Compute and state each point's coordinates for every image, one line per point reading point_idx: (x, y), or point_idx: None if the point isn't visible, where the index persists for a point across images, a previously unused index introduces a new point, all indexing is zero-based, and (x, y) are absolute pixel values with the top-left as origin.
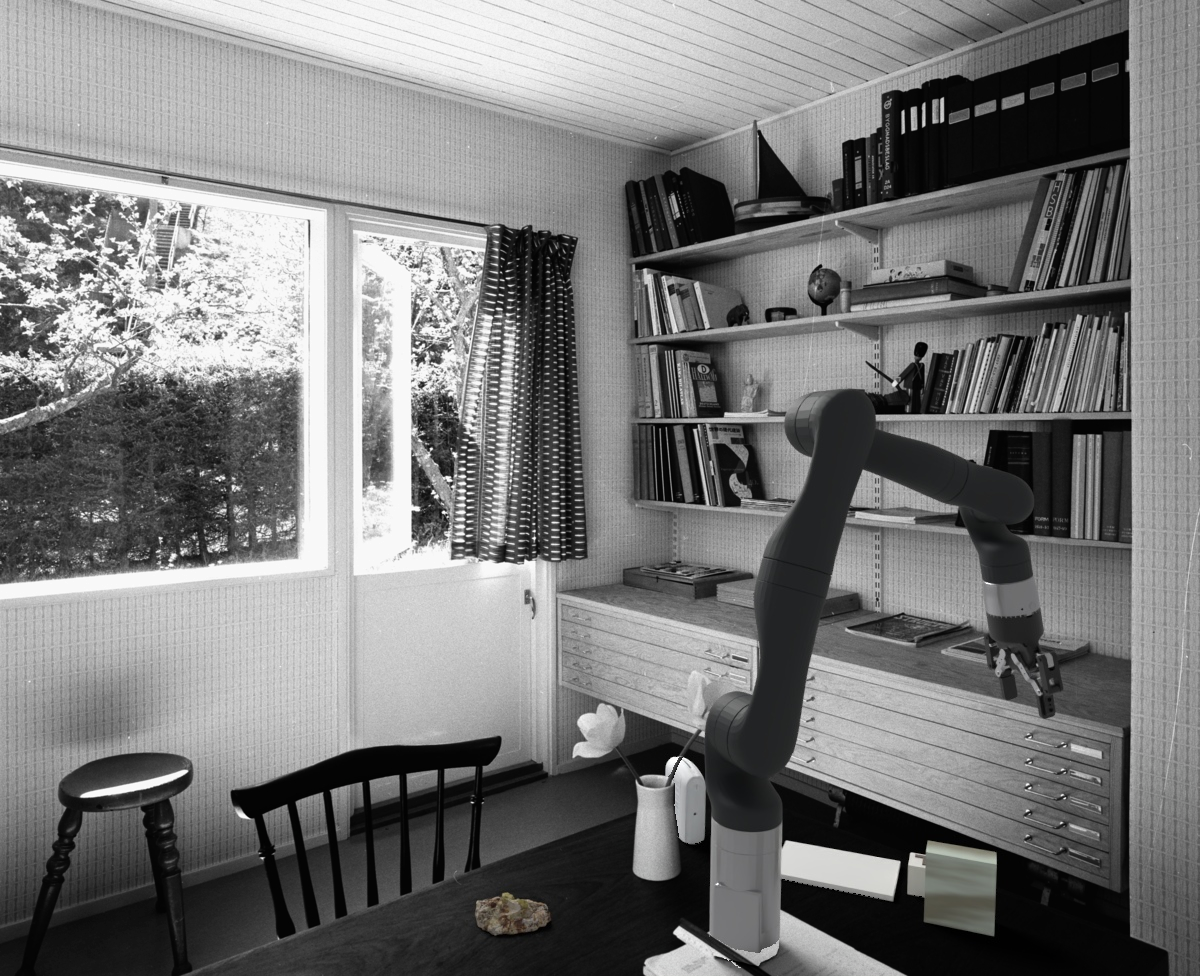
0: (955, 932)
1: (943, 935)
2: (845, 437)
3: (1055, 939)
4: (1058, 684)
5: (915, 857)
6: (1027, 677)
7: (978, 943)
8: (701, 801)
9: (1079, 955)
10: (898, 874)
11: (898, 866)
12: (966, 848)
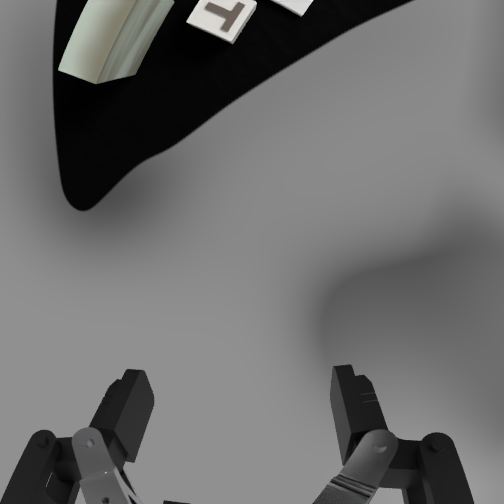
0: None
1: None
2: None
3: (99, 131)
4: (56, 480)
5: (237, 2)
6: (92, 485)
7: None
8: None
9: (72, 141)
10: (274, 1)
11: (285, 5)
12: (109, 38)
